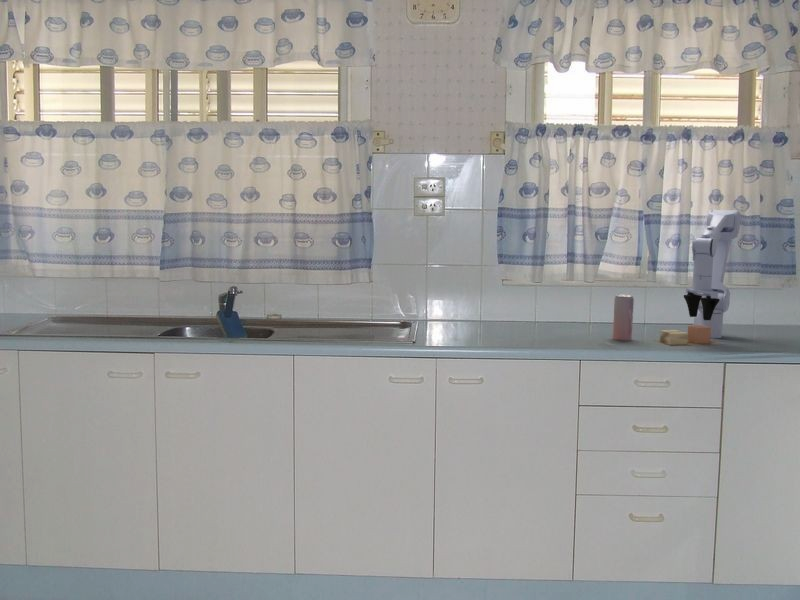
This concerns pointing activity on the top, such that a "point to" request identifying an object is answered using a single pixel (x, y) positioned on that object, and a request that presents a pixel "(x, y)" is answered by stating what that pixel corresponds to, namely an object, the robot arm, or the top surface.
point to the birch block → (673, 337)
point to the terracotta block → (699, 334)
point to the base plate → (690, 343)
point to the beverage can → (623, 317)
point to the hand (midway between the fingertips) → (700, 318)
